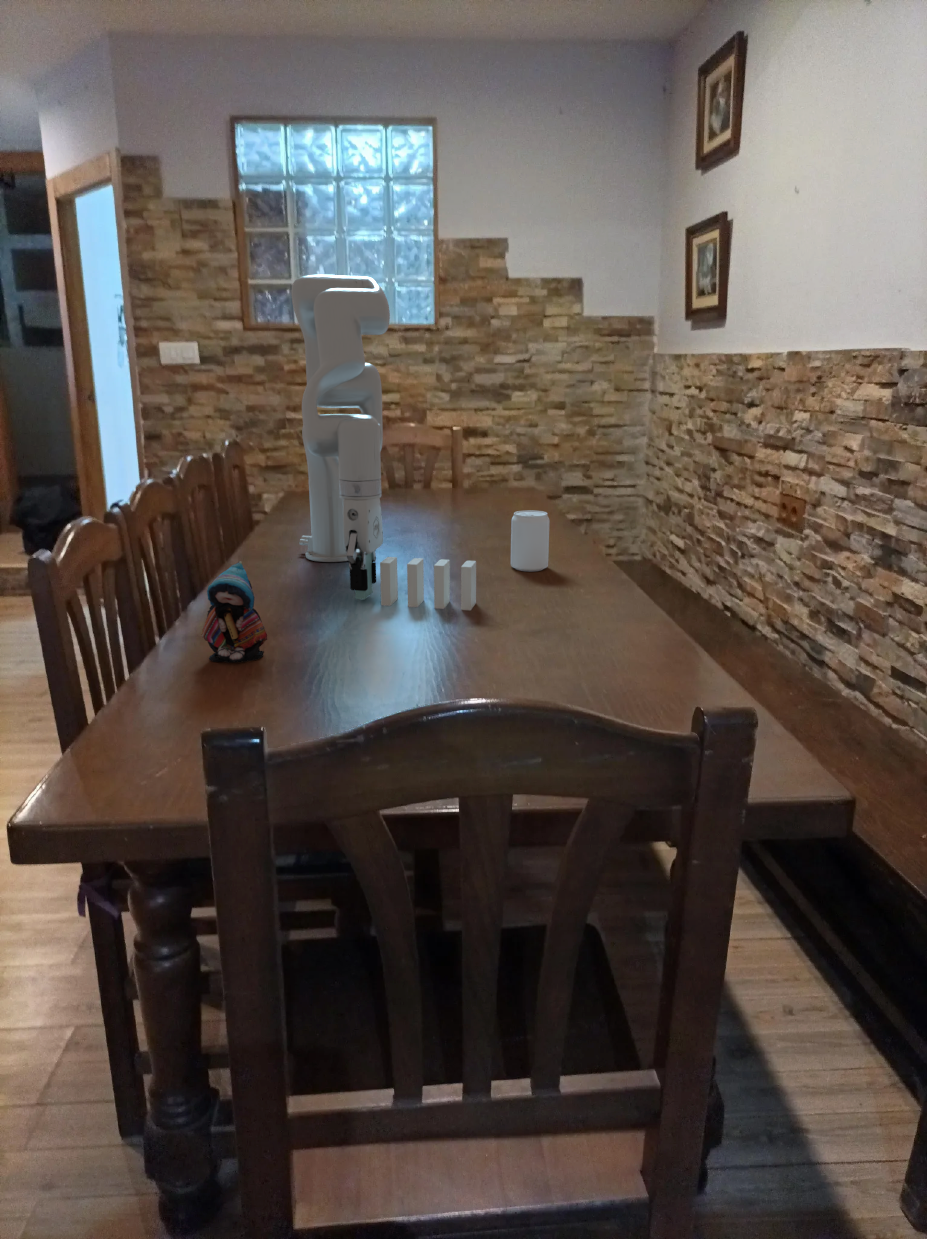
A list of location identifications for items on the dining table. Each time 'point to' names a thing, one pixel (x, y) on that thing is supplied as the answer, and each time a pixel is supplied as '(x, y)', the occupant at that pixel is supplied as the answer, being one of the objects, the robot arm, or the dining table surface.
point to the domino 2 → (389, 581)
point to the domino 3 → (415, 582)
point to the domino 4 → (441, 583)
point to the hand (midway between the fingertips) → (363, 585)
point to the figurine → (233, 618)
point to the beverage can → (529, 540)
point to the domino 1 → (369, 573)
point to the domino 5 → (468, 585)
